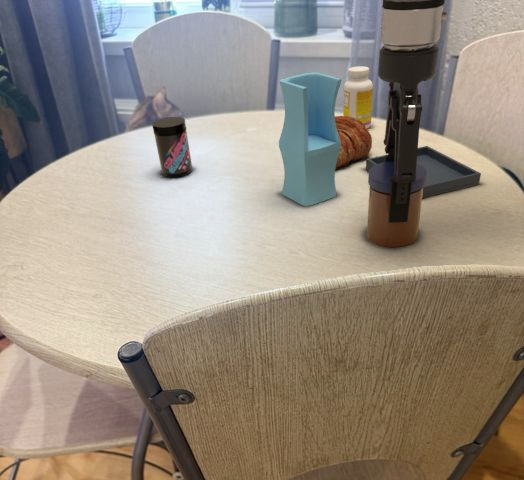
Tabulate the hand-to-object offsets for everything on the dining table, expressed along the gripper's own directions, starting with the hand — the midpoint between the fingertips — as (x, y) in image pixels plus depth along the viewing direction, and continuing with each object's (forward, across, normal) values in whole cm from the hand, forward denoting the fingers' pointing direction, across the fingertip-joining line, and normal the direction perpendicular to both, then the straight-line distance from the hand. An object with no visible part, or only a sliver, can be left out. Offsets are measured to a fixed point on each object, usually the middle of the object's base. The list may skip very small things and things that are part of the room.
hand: (394, 207), depth 83 cm
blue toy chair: (+5, +17, +13) cm, 22 cm away
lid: (-5, 0, 0) cm, 5 cm away
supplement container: (+5, +32, +42) cm, 53 cm away
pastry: (+5, +36, +7) cm, 37 cm away
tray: (+5, +23, -8) cm, 25 cm away
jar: (+5, 0, 0) cm, 5 cm away
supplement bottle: (+5, +55, +2) cm, 55 cm away
